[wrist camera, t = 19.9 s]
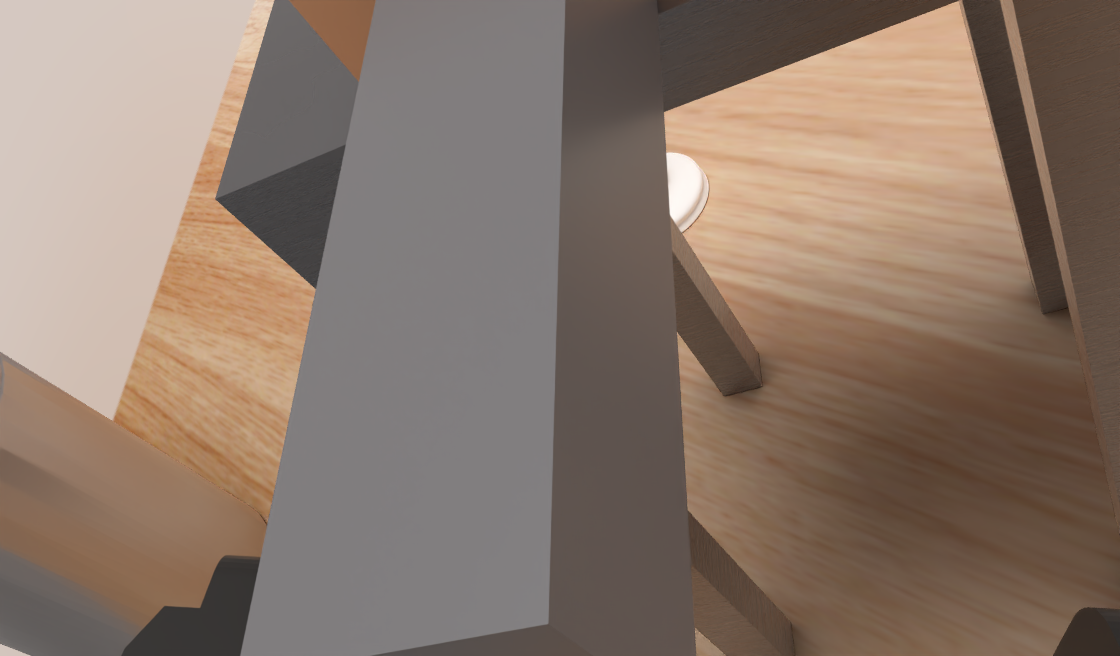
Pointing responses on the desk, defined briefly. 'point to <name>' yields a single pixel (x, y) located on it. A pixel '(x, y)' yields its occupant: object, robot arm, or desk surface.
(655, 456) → the plug
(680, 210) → the chess piece
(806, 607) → the desk surface
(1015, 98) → the stepped rack
